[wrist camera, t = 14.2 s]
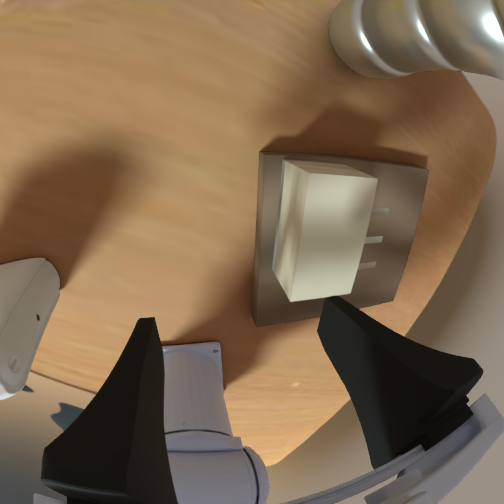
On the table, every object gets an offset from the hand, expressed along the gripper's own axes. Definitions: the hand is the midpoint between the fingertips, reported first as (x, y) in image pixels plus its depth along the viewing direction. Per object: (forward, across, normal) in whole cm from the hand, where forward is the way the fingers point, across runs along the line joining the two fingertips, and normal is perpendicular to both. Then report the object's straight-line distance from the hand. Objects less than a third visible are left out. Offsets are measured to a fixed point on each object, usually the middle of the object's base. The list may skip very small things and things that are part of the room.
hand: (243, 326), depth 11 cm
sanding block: (+8, -6, -1) cm, 11 cm away
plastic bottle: (+10, -10, -15) cm, 21 cm away
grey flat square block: (+10, -10, +2) cm, 15 cm away
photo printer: (+10, +18, +3) cm, 21 cm away
